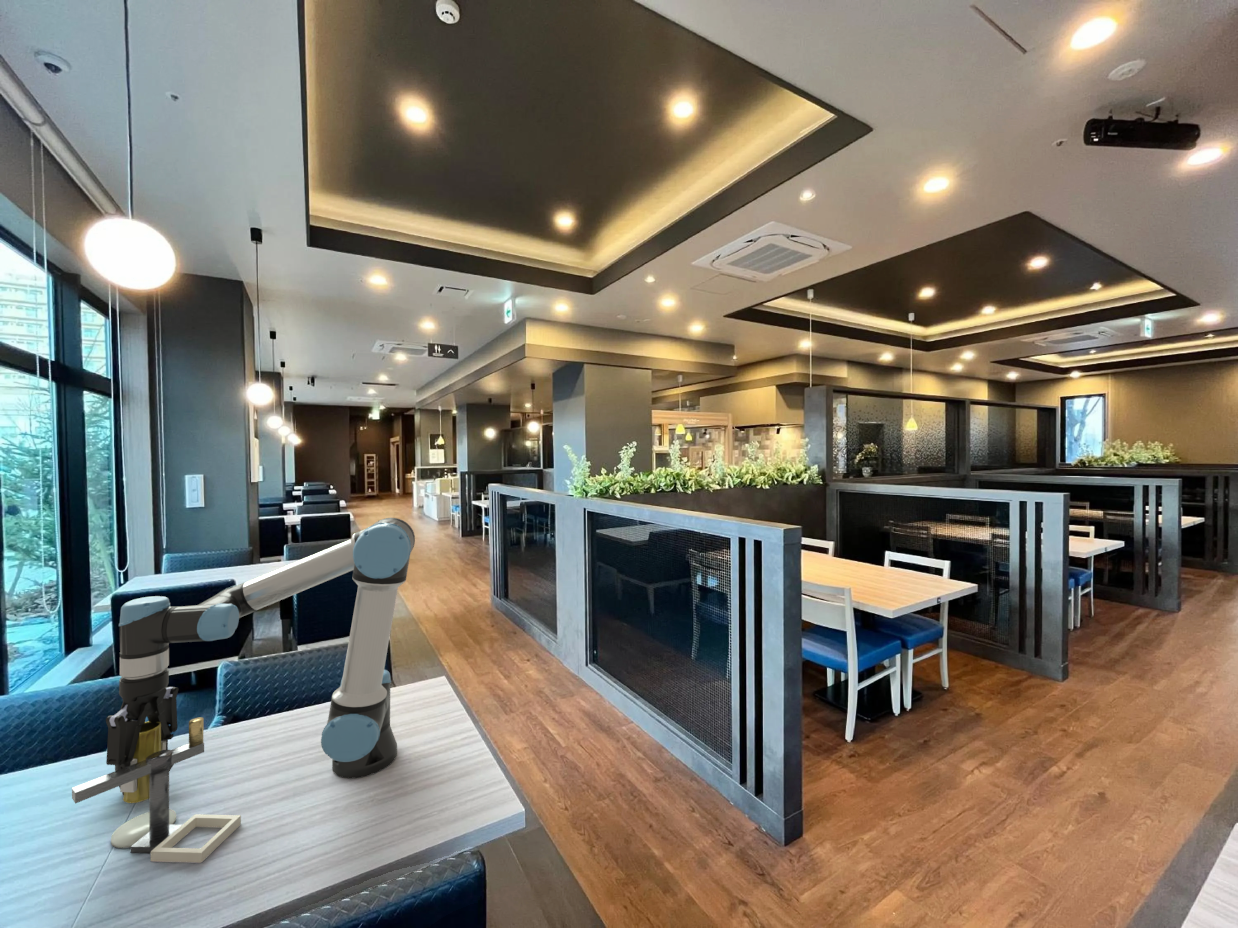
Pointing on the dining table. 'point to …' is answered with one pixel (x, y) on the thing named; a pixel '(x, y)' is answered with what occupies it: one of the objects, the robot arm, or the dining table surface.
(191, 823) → the cream rectangular frame
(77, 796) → the bar
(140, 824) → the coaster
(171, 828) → the post
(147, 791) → the vase
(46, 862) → the dining table surface
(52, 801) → the dining table surface
